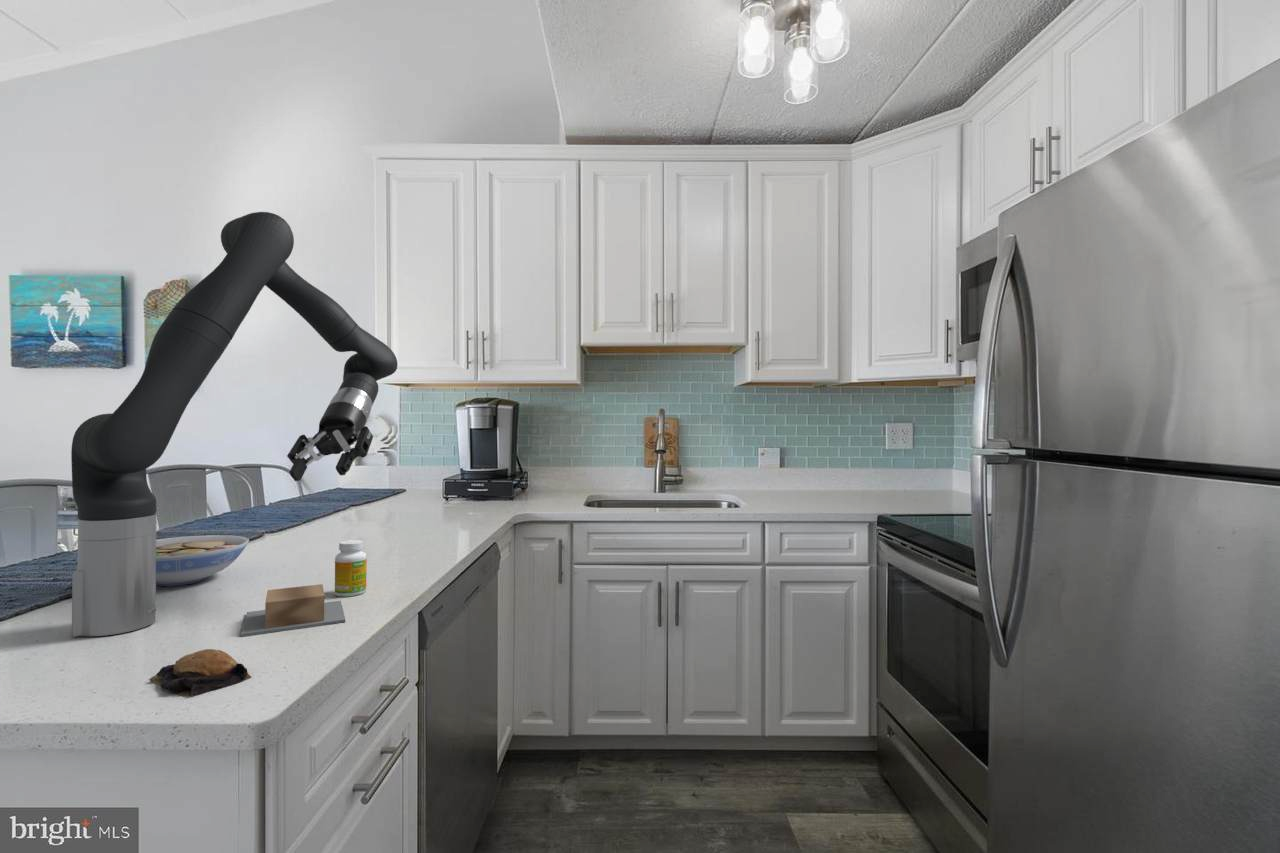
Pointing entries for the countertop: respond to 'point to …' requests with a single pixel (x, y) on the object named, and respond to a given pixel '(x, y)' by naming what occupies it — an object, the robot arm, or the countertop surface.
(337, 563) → the supplement bottle
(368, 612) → the countertop surface
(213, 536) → the ramen bowl
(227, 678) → the bread roll
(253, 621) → the mat
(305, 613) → the walnut block
